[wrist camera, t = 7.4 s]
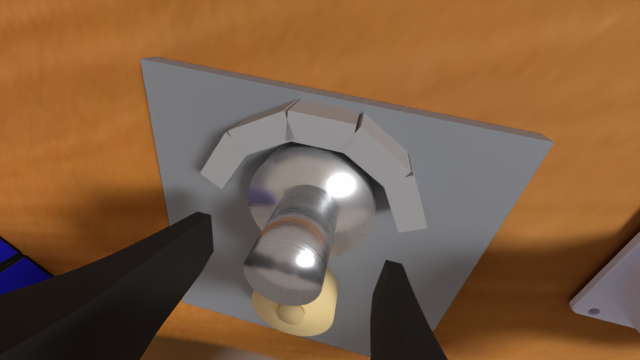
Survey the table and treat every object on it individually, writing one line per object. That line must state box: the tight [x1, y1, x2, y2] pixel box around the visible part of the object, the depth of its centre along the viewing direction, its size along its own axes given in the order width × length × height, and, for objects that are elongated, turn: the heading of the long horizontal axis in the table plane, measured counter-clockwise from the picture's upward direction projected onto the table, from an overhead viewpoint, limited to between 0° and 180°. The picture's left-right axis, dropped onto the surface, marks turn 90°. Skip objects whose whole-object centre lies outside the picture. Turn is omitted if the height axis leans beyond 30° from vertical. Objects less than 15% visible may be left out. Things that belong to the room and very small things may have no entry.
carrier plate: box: [140, 57, 554, 357], centre depth 15 cm, size 18×18×3 cm
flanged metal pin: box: [243, 142, 375, 306], centre depth 12 cm, size 6×6×6 cm
